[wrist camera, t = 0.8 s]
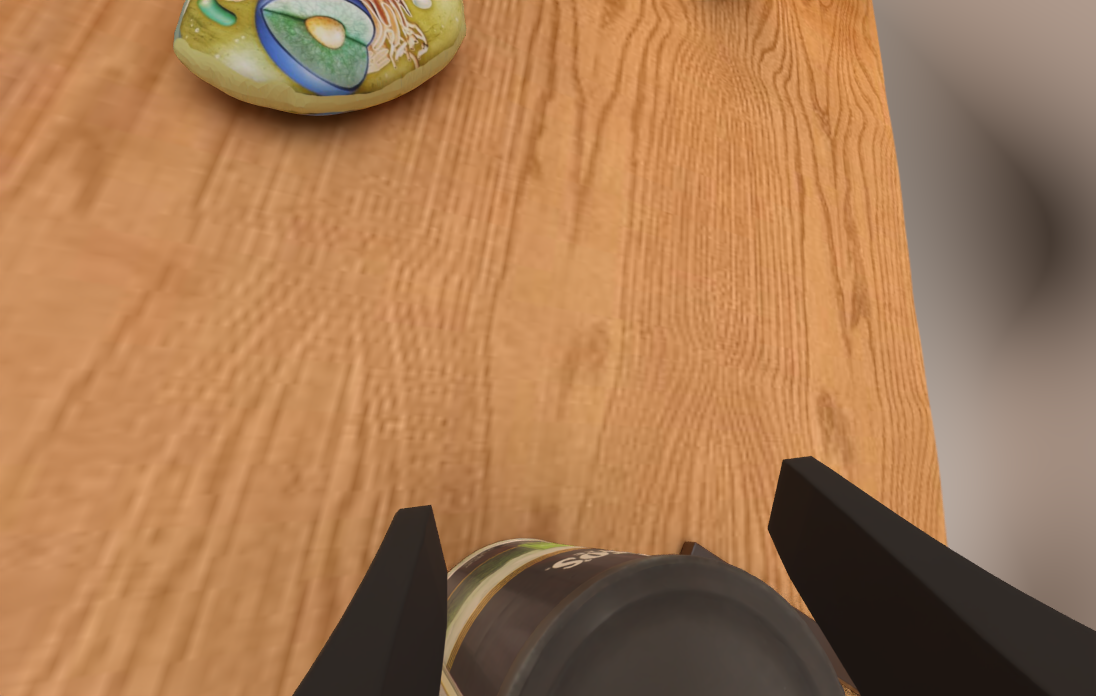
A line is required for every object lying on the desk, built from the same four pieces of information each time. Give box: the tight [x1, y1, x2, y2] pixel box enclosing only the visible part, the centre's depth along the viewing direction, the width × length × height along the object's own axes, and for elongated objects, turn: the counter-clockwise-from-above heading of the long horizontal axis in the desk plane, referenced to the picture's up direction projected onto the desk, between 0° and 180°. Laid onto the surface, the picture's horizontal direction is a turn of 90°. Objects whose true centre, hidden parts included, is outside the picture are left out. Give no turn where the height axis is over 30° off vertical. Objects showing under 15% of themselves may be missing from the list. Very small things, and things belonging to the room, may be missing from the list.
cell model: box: [173, 0, 466, 116], centre depth 28 cm, size 11×8×15 cm
